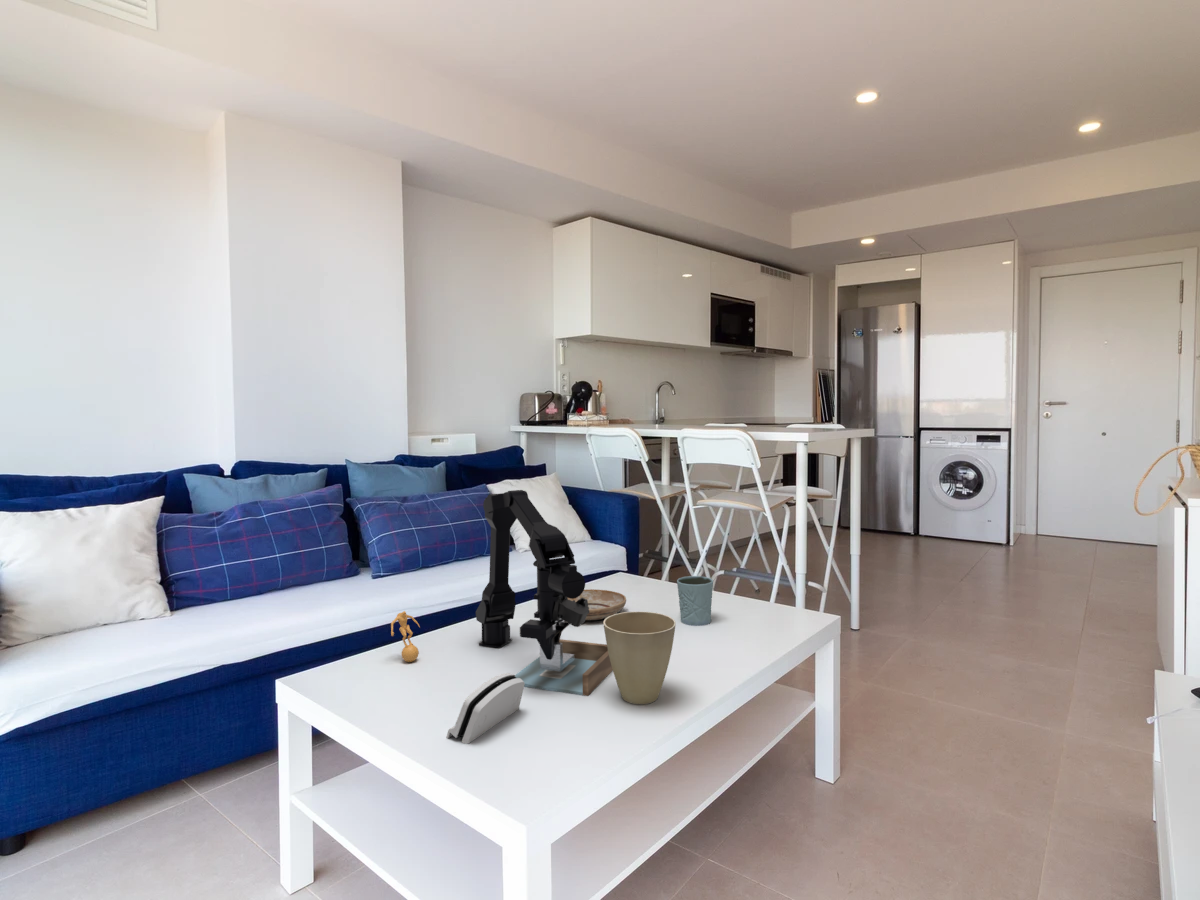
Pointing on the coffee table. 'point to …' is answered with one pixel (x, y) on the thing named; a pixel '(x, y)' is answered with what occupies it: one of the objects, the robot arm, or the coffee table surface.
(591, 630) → the coffee table surface
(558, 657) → the aluminium bracket
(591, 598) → the ceramic bowl
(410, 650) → the figurine
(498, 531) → the robot arm
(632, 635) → the plant pot
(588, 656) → the corner arena
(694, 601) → the embossed green cup
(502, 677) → the grey arched casing
